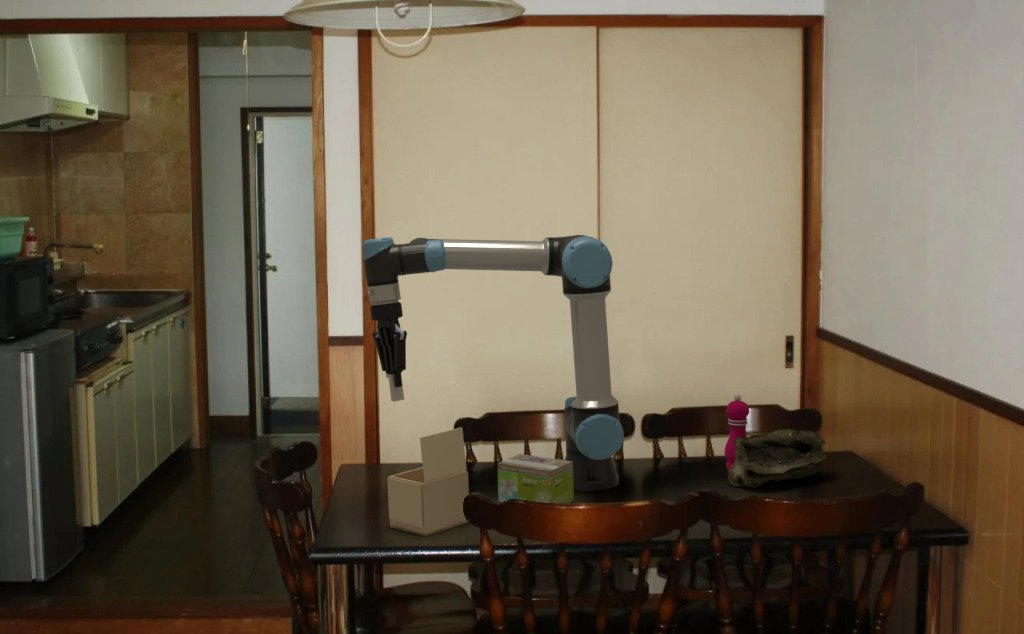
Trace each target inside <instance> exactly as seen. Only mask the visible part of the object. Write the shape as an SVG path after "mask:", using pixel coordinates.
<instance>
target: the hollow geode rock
mask: <svg viewBox="0 0 1024 634" xmlns="http://www.w3.org/2000/svg"><path fill="white" fill-rule="evenodd" d="M826 444H827V443H826V441H825V440H824V439H823V438H822V437H821V436H820V435H819V434H818V432H816V431H813V430H810V429H809V430H808V429H804V428H803V429H795V428H791V427H783V428H782V427H781V428H775V429H772V430H770V431H767V432H766V433H762V434H753V435H750V436H747V438H746V437H743V436H739V437H737V438H736V439H735V442H734V443H733V446H736V449H735V452H734V453H735V455H736V460H735V462H734V464H733V465H732V466H731V468H730V469H729V470H728V469H727V477H728V482H729V483H730V484H731V485H732V486H735V487H742V488H745V487H746V488H747V487H748V488H752V489H756V488H758V487H760V486H761V485H762V484H763V483H767V482H769V481H773V482H780V481H787V480H793V479H795V480H796V479H804V478H808V477H809V476H811V475H815V474H816V473H818V471H819V470H820V468H821V465H822V461H823V460H825V459H826V458H827V457H828V455H829V453H826V452H825V451H824V448H823V447H824V445H826Z"/></svg>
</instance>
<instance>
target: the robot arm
mask: <svg viewBox="0 0 1024 634" xmlns="http://www.w3.org/2000/svg"><path fill="white" fill-rule="evenodd" d="M362 255H363V264H364V271H365V272H364V273H365V279H366V285H367V293H366V294H367V295H368V300H369V303H370V304H372V305H370V307H369V310H370V312H369V313H370V317H371V321H374V322H376V329H377V330H376V331H375V332H372V334H371V335H372V339H373V340H374V342H375V346H376V350H377V355H378V359H379V362H380V366H381V370H382V371H383V372H385V374H387V377H388V383H389V384H388V385H389V393H390V400H391V402H393V403H395V402H400V401H404V400H405V395H404V388H403V387H404V386H403V377H402V373H403V371H405V370H406V368H407V356H406V355H407V353H406V352H407V351H406V350H407V347H406V346H407V345H406V344H407V342H406V341H407V335H408V333H407V330H402V329H401V323H400V322H399V318H402V317H403V316H404V314H403V307H402V306H403V305H402V302H400V300H401V299H402V297H401V290H400V283H399V276H405V275H406V276H407V275H408V276H409V275H416V274H426V273H436V272H440V271H445V270H464V271H465V270H468V271H470V270H471V271H505V272H506V271H510V272H511V271H512V272H513V271H515V272H541V273H542V274H543V275H544V276H552V277H553V276H554V277H560V278H561V282H562V283H561V284H562V295H563V296H565V297H566V298H567V299H568V300H569V307H570V319H571V334H572V349H573V351H572V353H573V364H574V377H575V378H574V381H575V392H576V396H570V397H568V398H566V400H565V401H564V417H565V419H564V420H565V421H564V422H565V424H564V425H565V457H564V460H565V461H573V490H574V491H577V492H597V491H606V490H610V489H613V488H616V487H617V486H618V485H619V484H620V483H619V482H620V480H619V477H620V476H619V473H618V471H617V469H616V464H615V463H614V462H615V460H614V459H613V456H615V454H616V453H618V452H619V450H620V449H621V447H622V446H623V443H624V440H625V439H624V429H623V425H622V423H621V422H620V421H621V420H620V409H619V400H618V399H617V398H616V397H615V396H614V395H613V394H612V382H611V367H610V350H609V338H608V337H609V336H608V322H607V319H608V318H607V307H606V306H607V304H606V297H608V295H609V294H610V293H611V291H612V288H611V283H612V282H611V273H612V270H613V257H612V254H611V251H610V250H609V249H608V247H607V245H606V244H605V243H604V242H603V241H602V240H600V239H598V238H596V237H593V236H587V235H583V234H576V235H568V236H558V237H557V236H556V237H553V236H551V237H547V236H546V237H545V238H544V239H543V240H503V239H501V240H498V239H497V240H495V239H491V240H490V239H456V238H455V239H451V238H450V239H449V238H442V239H440V238H426V237H417V238H414V239H412V240H411V241H409V242H408V243H402V244H401V243H399V244H398V243H396V244H395V242H394V239H393V238H392V237H391V236H388V237H379V238H378V237H377V238H370V239H365V241H364V242H363V243H362Z"/></svg>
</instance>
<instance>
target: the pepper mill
mask: <svg viewBox="0 0 1024 634" xmlns="http://www.w3.org/2000/svg"><path fill="white" fill-rule="evenodd" d="M725 409H726V414H727V416H728V423H727V424H728V425H729V436H728V439H727V442H726V444H725V446H724V451H723V452H724V457H725V458H726V459H727V461H726V465H725V466H726V469H727V471H728V470H729V469H730V468H731V466H732V465H733V464H734V462H735V460H736V455H735V453H734V452H735V449H736V446H733V443H734V442H735V439H736V438H737V437H739V436H743V437H746V438H747V437H748V436H747V433H746V432H747V431H746V428H747V424H748V418H747V417H748V416H749V414H750V407H749V404H748V403H746V402H745V401H743V400H742V397H741V395H740V394H736V395H734V400H732V401H730V402H729V403H728V404H727V406H726V408H725Z"/></svg>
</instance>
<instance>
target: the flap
mask: <svg viewBox="0 0 1024 634" xmlns="http://www.w3.org/2000/svg"><path fill="white" fill-rule="evenodd" d="M464 441H465V440H464V431H463V427H461V426H460V427H457V428H454V429H449V430H446V431H442V432H437V433H433V434H428V435H425V436H422V437H419V442H420V443H419V444H420V453H421V463H422V467H423V474H424V482H427V481H430V480H434V479H437V478H441V477H444V476H448V475H451V474H455V473H458V472H462V471H467V464H466V463H467V462H466V461H467V460H466V453H465V452H466V451H465V443H464Z"/></svg>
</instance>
